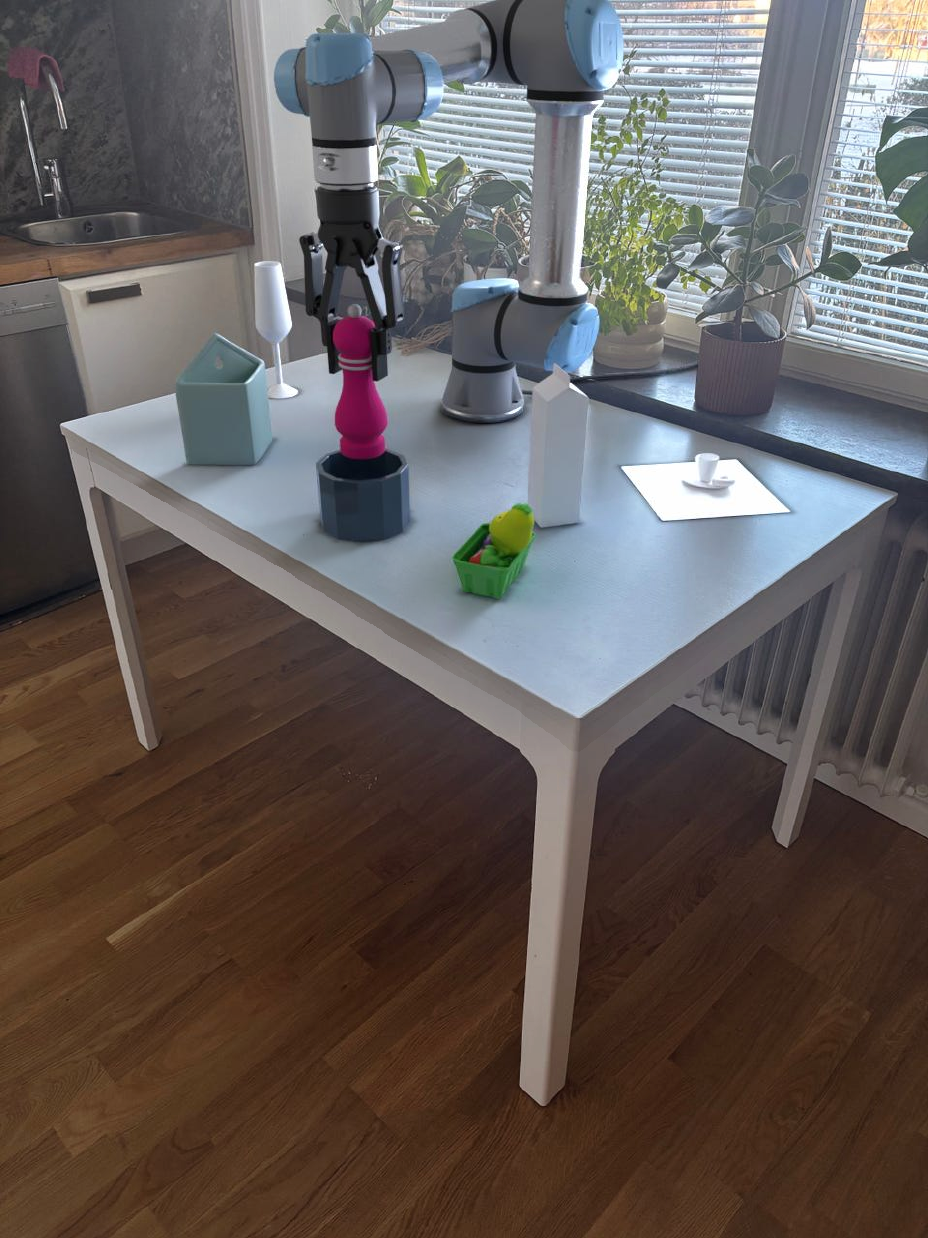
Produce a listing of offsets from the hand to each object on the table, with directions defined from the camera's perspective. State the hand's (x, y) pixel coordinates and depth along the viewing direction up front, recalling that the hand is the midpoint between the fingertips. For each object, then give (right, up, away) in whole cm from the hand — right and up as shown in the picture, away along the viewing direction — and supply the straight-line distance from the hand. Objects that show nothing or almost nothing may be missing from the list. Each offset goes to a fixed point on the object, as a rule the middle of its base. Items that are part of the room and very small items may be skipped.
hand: (358, 374), depth 124 cm
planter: (-23, -6, +31) cm, 39 cm away
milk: (+27, -18, +13) cm, 35 cm away
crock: (0, -18, +12) cm, 22 cm away
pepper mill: (0, -9, +6) cm, 11 cm away
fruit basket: (+19, -28, -2) cm, 33 cm away
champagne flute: (-22, +11, +58) cm, 63 cm away
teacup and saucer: (+51, -12, +22) cm, 57 cm away
